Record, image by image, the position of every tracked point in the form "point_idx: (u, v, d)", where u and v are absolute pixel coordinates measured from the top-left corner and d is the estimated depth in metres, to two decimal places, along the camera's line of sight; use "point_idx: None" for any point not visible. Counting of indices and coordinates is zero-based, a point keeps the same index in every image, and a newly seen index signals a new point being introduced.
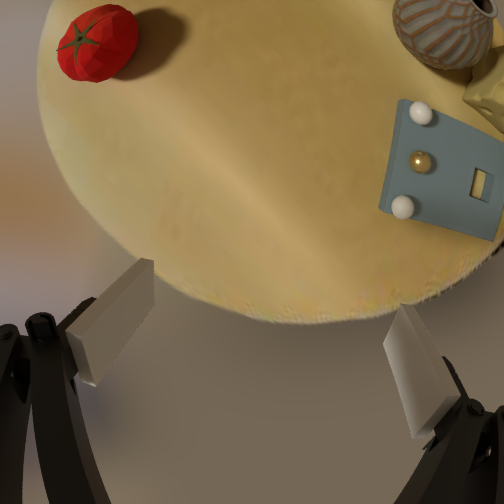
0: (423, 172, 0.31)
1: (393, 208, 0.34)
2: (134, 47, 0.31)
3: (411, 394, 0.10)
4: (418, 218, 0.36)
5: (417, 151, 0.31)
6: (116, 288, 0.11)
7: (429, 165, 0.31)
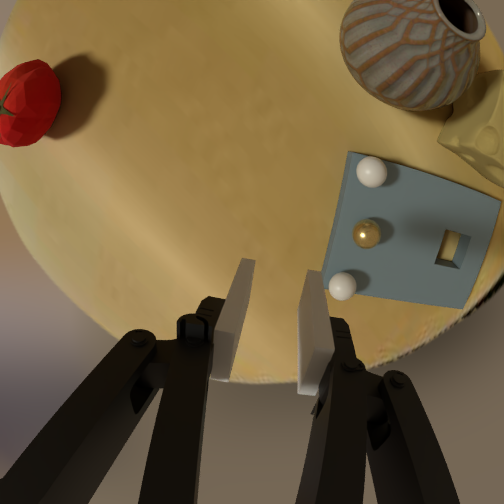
0: (369, 248, 0.29)
1: (329, 288, 0.32)
2: (55, 107, 0.28)
3: (302, 351, 0.12)
4: (365, 293, 0.34)
5: (363, 222, 0.28)
6: (239, 286, 0.13)
7: (377, 240, 0.28)
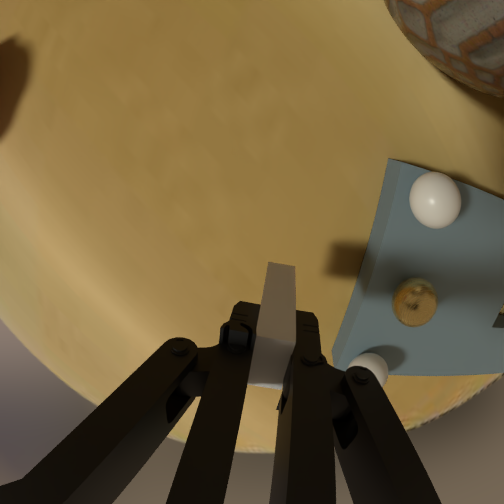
0: None
1: None
2: None
3: None
4: (397, 372, 0.21)
5: (414, 287, 0.15)
6: (271, 291, 0.13)
7: (432, 315, 0.15)
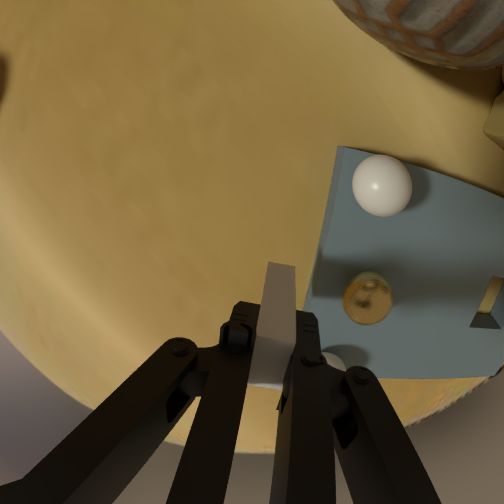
0: (371, 324, 0.16)
1: None
2: None
3: None
4: None
5: (363, 282, 0.15)
6: (271, 291, 0.13)
7: (386, 313, 0.15)
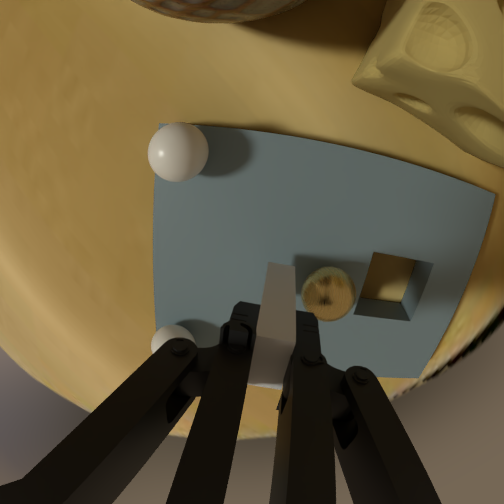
0: None
1: None
2: None
3: None
4: None
5: (319, 268, 0.16)
6: (271, 291, 0.13)
7: (316, 305, 0.15)
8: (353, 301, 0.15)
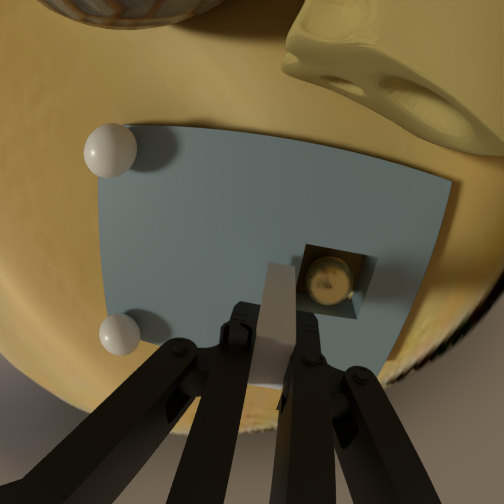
0: None
1: None
2: None
3: None
4: None
5: (349, 268, 0.18)
6: (271, 291, 0.13)
7: None
8: None
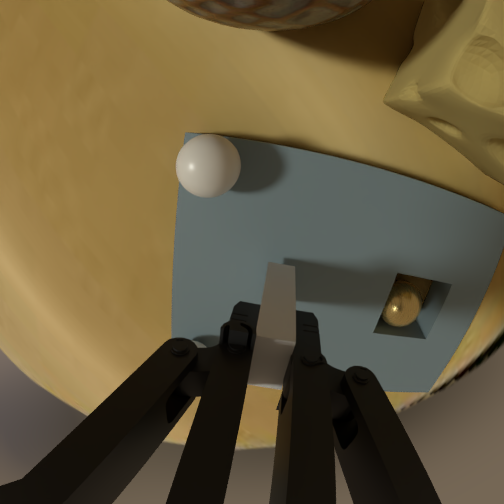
0: None
1: None
2: None
3: None
4: None
5: (419, 294, 0.17)
6: (271, 291, 0.13)
7: None
8: None
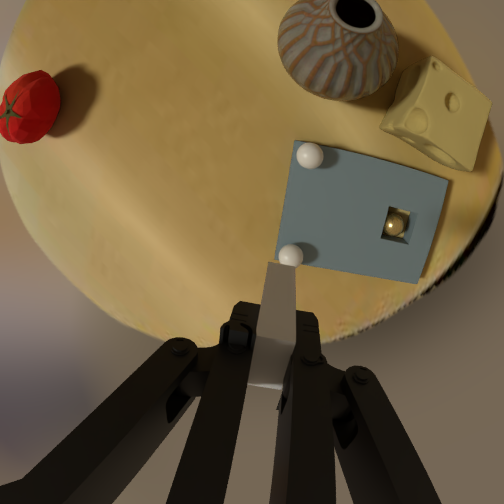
0: None
1: (279, 258, 0.38)
2: (55, 110, 0.34)
3: None
4: (315, 264, 0.39)
5: (401, 218, 0.36)
6: (271, 291, 0.13)
7: None
8: None
